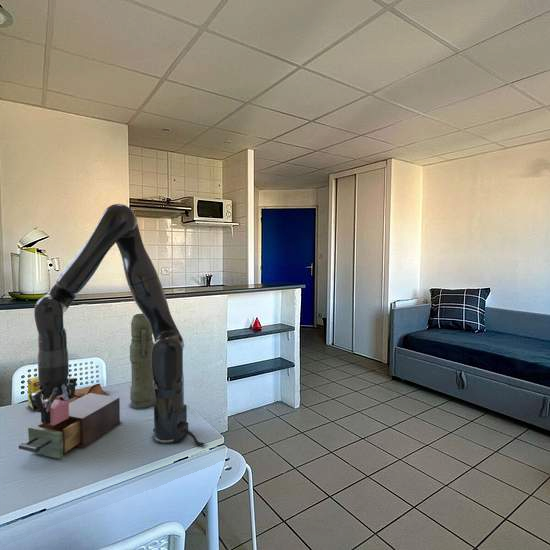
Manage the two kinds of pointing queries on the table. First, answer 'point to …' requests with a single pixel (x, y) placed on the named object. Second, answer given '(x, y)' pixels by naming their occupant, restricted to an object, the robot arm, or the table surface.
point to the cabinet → (95, 415)
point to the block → (58, 411)
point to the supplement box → (33, 389)
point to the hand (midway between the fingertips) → (55, 418)
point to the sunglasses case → (86, 392)
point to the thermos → (141, 363)
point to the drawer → (53, 438)
